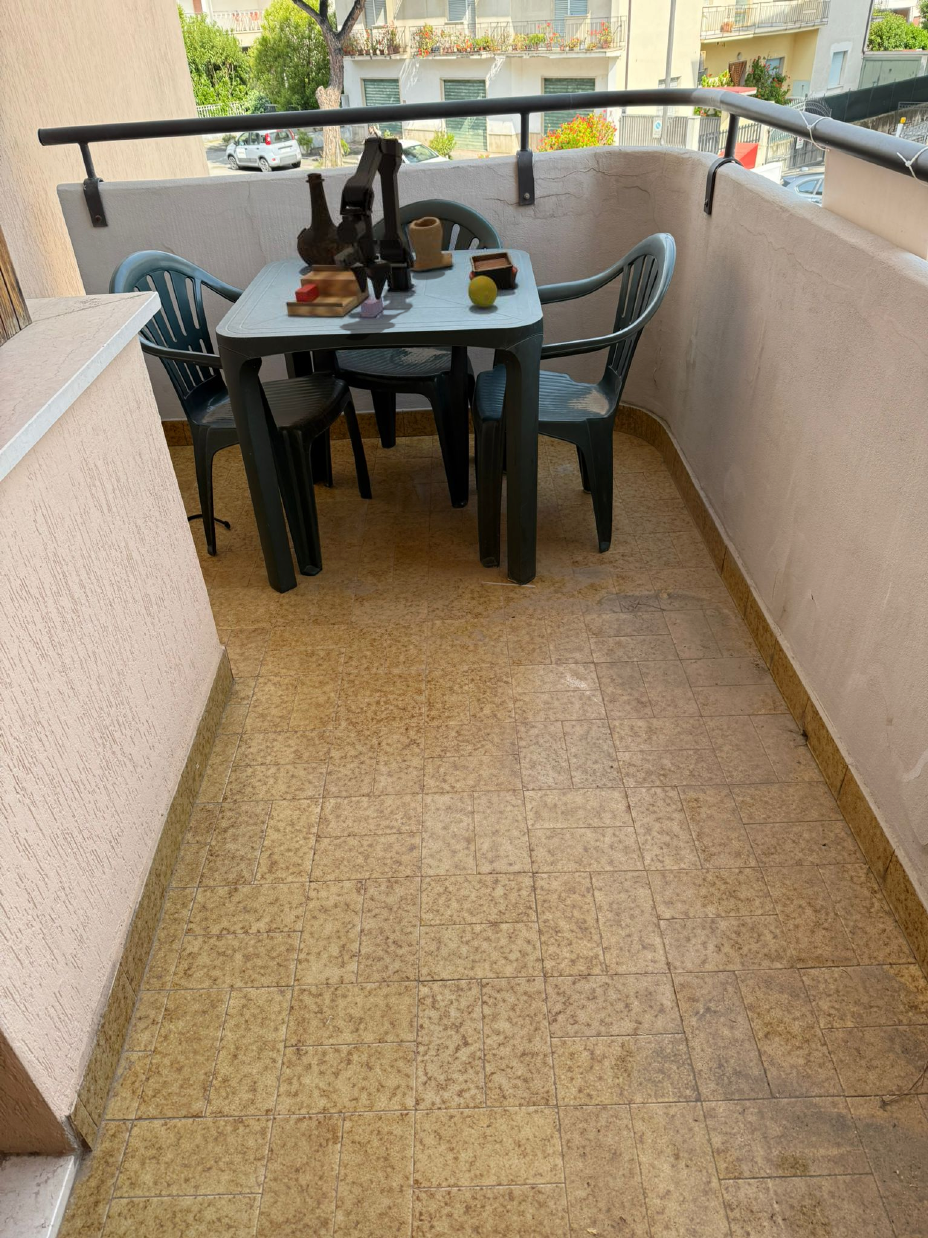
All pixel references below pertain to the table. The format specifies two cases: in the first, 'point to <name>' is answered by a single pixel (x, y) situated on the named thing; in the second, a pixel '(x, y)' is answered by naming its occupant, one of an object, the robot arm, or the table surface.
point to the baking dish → (495, 269)
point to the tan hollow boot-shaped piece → (428, 244)
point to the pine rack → (329, 292)
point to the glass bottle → (319, 229)
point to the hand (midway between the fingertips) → (370, 295)
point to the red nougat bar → (307, 293)
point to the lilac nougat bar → (371, 307)
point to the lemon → (482, 291)
